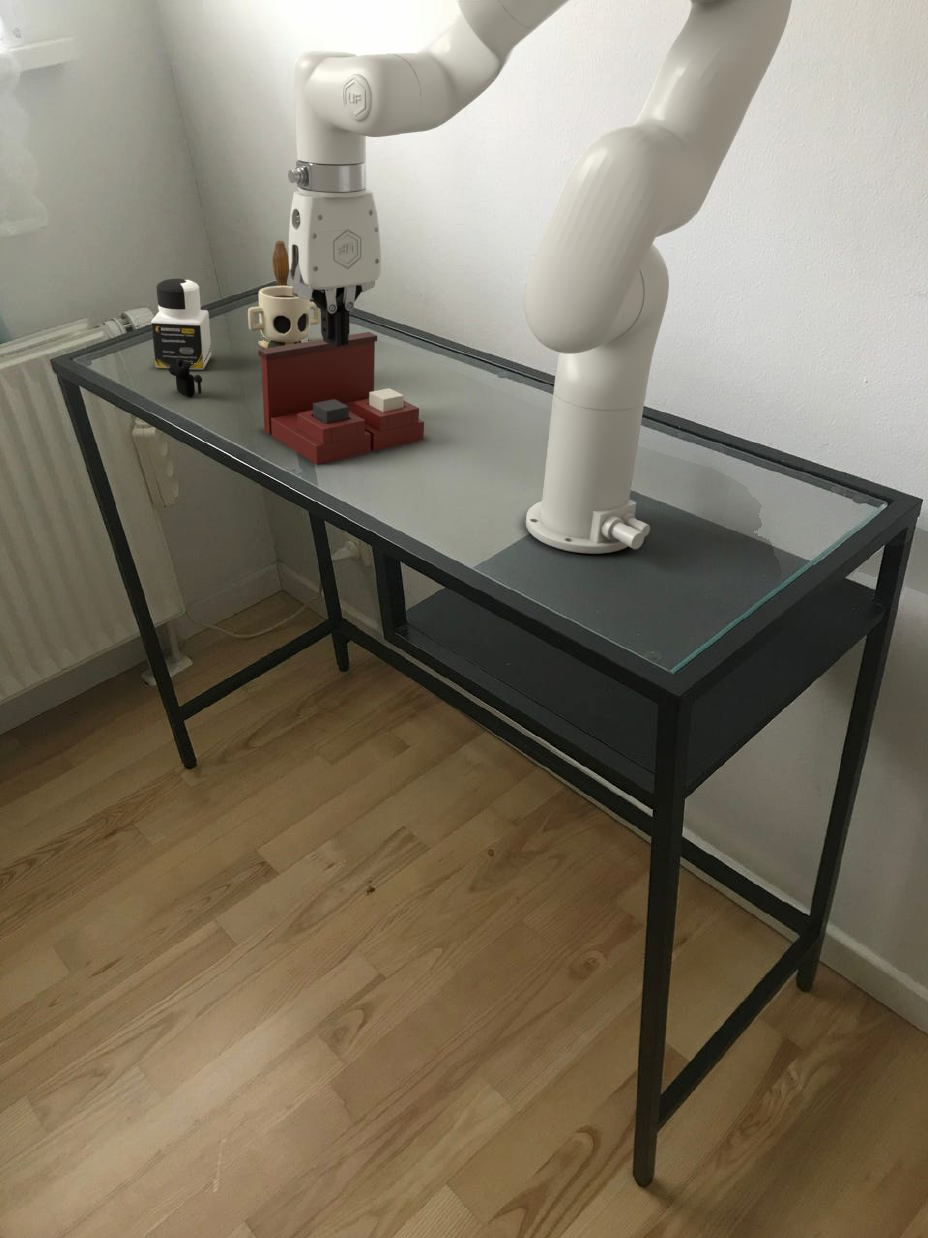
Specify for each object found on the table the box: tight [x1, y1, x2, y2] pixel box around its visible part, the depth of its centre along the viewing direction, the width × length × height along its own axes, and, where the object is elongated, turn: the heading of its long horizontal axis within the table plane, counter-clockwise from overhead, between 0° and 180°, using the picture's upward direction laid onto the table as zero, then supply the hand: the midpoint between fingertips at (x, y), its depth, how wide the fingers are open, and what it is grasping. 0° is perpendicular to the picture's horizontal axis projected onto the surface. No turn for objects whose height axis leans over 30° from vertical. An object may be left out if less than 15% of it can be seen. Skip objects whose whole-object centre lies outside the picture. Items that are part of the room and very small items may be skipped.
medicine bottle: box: [150, 278, 212, 371], centre depth 155 cm, size 7×7×12 cm
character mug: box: [247, 285, 321, 348], centre depth 150 cm, size 11×7×13 cm, turn 121°
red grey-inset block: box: [271, 410, 372, 466], centre depth 132 cm, size 11×8×4 cm
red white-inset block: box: [343, 398, 425, 452], centre depth 137 cm, size 11×8×4 cm
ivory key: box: [369, 387, 405, 412], centre depth 134 cm, size 3×3×2 cm
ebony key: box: [313, 399, 349, 425], centre depth 129 cm, size 3×3×2 cm
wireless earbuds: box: [168, 358, 203, 398], centre depth 144 cm, size 7×2×5 cm, turn 49°
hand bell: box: [258, 240, 290, 349], centre depth 164 cm, size 8×8×16 cm
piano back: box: [257, 331, 378, 435], centre depth 137 cm, size 2×17×11 cm, turn 129°
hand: (335, 342), depth 125 cm, fingers closed
